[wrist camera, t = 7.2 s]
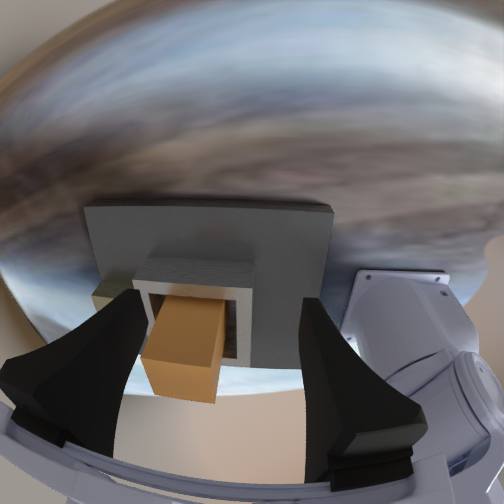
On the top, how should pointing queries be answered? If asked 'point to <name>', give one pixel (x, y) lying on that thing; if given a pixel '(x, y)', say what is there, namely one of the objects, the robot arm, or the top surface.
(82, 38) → the top surface
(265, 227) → the grey socket base
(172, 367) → the wedge pin
